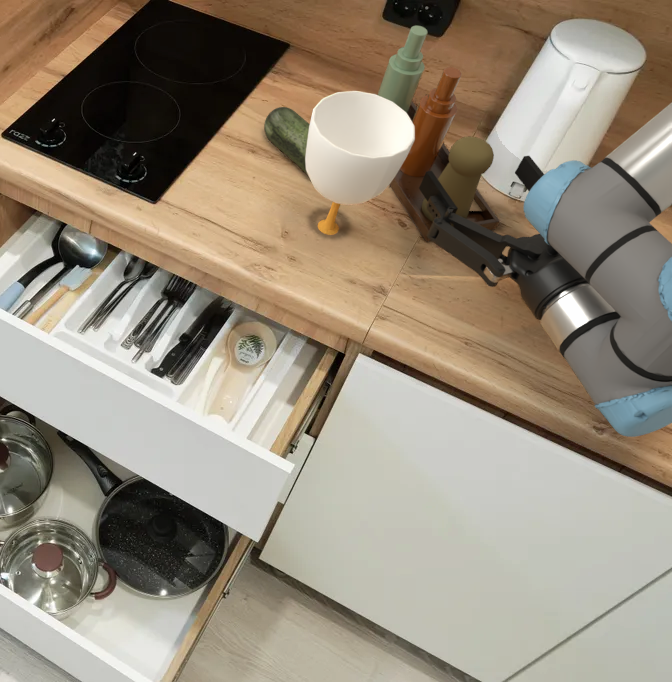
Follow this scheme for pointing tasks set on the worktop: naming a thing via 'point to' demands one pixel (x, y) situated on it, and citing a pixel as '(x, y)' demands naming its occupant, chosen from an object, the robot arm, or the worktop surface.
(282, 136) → the vegetable
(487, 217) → the tray
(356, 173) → the cup
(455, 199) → the olive pepper shaker
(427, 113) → the amber bottle
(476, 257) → the robot arm
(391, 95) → the sage bottle
